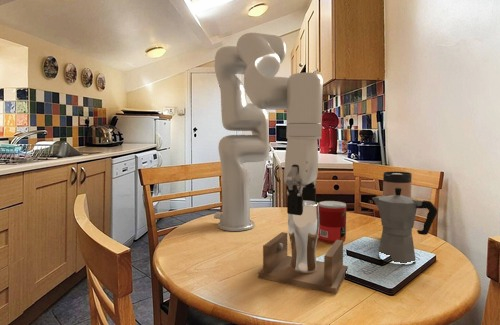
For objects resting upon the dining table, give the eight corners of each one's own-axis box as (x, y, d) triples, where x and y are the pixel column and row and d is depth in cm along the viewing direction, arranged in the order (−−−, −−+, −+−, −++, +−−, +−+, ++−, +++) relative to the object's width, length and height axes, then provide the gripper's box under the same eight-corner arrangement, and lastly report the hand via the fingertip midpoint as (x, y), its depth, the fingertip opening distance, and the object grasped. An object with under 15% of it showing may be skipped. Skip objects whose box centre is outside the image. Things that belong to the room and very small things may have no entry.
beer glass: (312, 277, 67) (312, 207, 66) (282, 270, 71) (282, 204, 70) (323, 265, 73) (323, 201, 72) (295, 260, 77) (295, 198, 76)
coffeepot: (362, 256, 82) (363, 187, 81) (379, 247, 88) (380, 183, 87) (427, 274, 71) (430, 194, 69) (441, 262, 77) (444, 189, 76)
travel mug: (409, 237, 97) (411, 171, 95) (410, 245, 90) (412, 174, 88) (382, 234, 100) (383, 171, 98) (381, 241, 93) (382, 173, 91)
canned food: (347, 244, 91) (347, 206, 90) (318, 243, 93) (318, 205, 92) (344, 236, 98) (345, 201, 98) (318, 235, 100) (318, 200, 99)
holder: (258, 277, 70) (257, 245, 70) (278, 258, 81) (278, 231, 80) (336, 294, 62) (336, 258, 62) (347, 271, 73) (348, 240, 72)
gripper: (300, 131, 79) (298, 199, 80) (271, 132, 63) (271, 216, 65) (330, 131, 75) (328, 202, 77) (308, 132, 60) (306, 221, 62)
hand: (302, 208), depth 71 cm, fingers open, 9 cm apart
